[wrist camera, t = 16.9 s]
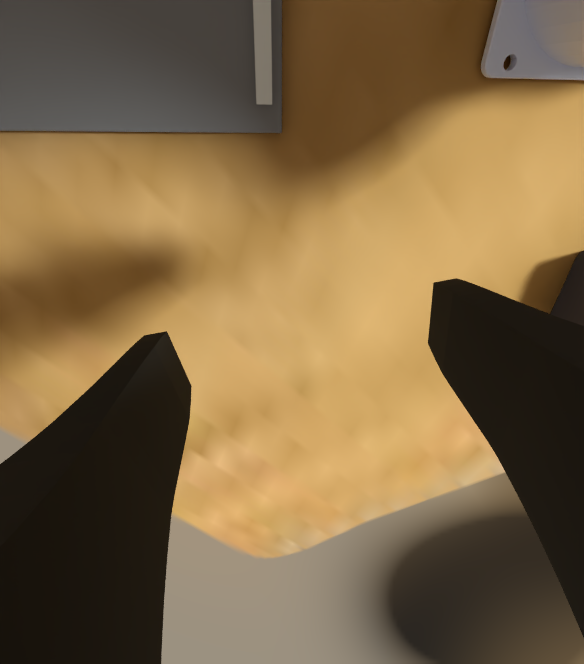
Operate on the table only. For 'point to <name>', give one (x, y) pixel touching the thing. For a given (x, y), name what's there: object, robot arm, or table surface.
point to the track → (141, 65)
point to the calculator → (572, 294)
